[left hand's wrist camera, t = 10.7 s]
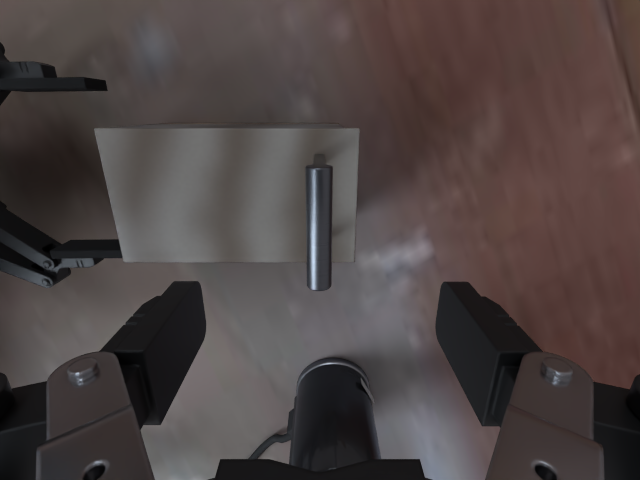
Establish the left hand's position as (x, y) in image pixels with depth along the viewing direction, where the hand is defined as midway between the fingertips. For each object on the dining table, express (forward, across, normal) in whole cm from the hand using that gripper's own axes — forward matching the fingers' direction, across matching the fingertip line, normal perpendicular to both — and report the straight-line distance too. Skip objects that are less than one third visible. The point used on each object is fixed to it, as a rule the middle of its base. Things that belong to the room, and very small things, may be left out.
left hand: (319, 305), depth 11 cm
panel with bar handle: (+15, +6, 0) cm, 16 cm away
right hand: (+19, +17, -1) cm, 25 cm away
